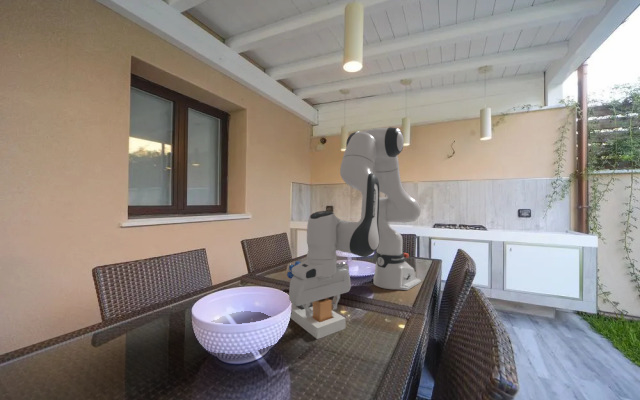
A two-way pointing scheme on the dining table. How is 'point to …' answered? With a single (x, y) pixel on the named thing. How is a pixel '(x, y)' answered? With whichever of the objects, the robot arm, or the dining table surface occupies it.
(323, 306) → the plug
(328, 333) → the light grey socket block
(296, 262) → the grapes
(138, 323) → the dining table surface
